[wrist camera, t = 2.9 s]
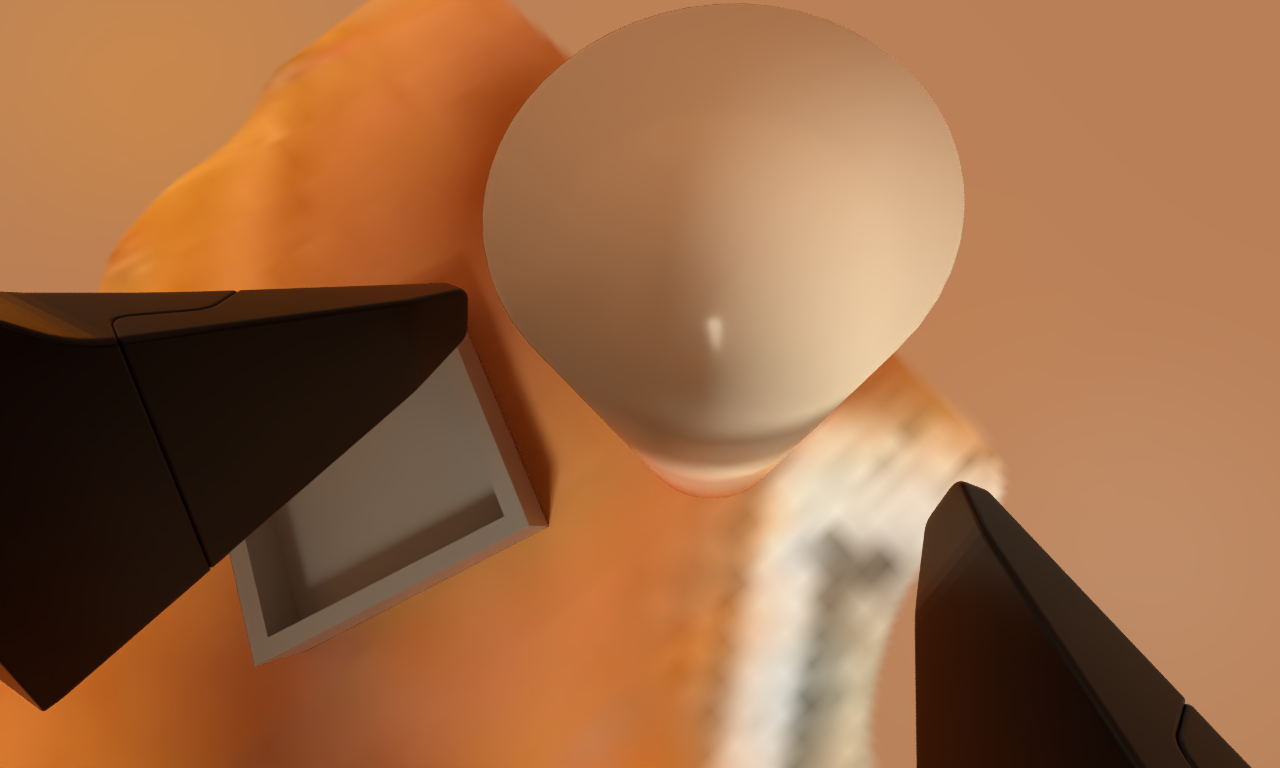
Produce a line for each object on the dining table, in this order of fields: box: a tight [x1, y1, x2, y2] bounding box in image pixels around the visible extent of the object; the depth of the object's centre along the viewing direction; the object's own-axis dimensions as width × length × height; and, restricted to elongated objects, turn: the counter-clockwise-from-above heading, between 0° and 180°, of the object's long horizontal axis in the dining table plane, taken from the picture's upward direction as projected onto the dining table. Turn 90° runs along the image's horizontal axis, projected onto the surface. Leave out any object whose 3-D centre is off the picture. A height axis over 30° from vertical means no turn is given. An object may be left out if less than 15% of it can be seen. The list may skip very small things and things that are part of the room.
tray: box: [229, 283, 548, 667], centre depth 18 cm, size 9×9×2 cm
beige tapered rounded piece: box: [482, 4, 964, 499], centre depth 12 cm, size 5×5×13 cm
